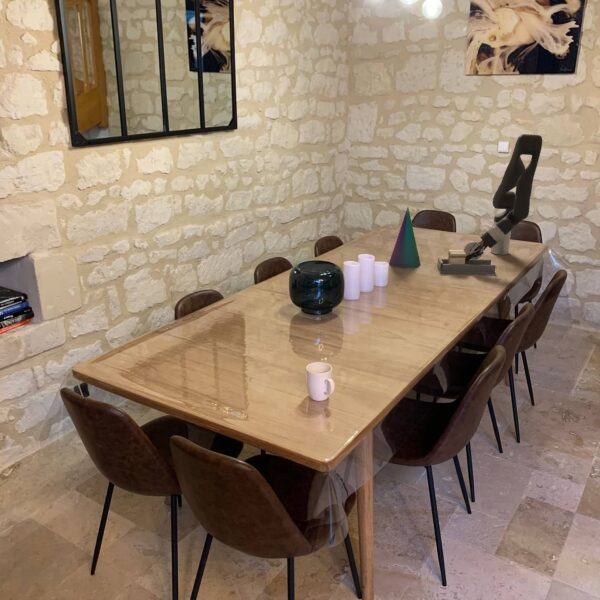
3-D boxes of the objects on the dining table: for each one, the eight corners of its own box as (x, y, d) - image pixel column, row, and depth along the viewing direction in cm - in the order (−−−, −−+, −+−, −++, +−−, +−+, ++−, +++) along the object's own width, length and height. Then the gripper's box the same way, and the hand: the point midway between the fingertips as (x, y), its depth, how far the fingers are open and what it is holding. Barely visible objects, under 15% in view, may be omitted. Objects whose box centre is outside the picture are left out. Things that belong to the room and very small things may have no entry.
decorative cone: (426, 263, 302) (430, 205, 292) (409, 270, 291) (413, 210, 280) (400, 257, 312) (403, 201, 302) (382, 264, 301) (385, 206, 291)
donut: (482, 259, 308) (484, 240, 304) (482, 261, 305) (484, 242, 301) (462, 258, 310) (464, 239, 307) (462, 260, 307) (464, 241, 304)
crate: (447, 265, 294) (448, 249, 291) (462, 265, 293) (463, 249, 291) (449, 269, 287) (450, 253, 284) (464, 269, 287) (465, 253, 284)
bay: (436, 265, 298) (437, 255, 296) (489, 266, 296) (490, 256, 294) (440, 273, 285) (441, 263, 283) (495, 274, 283) (496, 264, 281)
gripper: (484, 227, 289) (457, 251, 294) (490, 234, 277) (462, 258, 282) (494, 238, 290) (467, 262, 295) (501, 245, 278) (472, 269, 283)
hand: (464, 260), depth 289 cm, fingers closed
